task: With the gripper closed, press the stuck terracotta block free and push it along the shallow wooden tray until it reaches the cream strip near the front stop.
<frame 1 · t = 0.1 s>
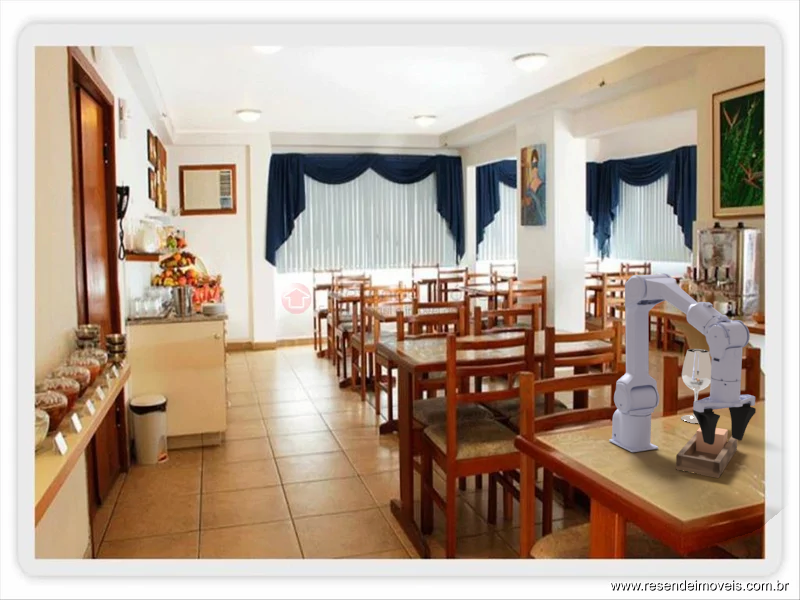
hand: (722, 441, 143), 10 cm above the table, tool pointing down, fingers open, 7 cm apart
jammed block: (711, 440, 163), point 4 cm above the table, slide at 0.0 cm
shallow wooden tray: (707, 459, 160), on the table
wineglass: (695, 420, 191), on the table
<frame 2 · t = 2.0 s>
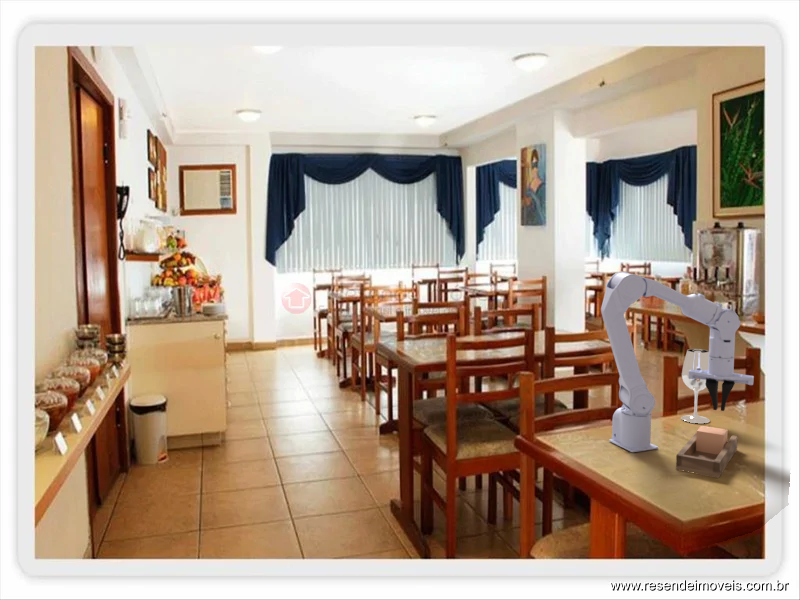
hand: (719, 409, 169), 9 cm above the table, tool pointing down, fingers closed
nothing on the table moved.
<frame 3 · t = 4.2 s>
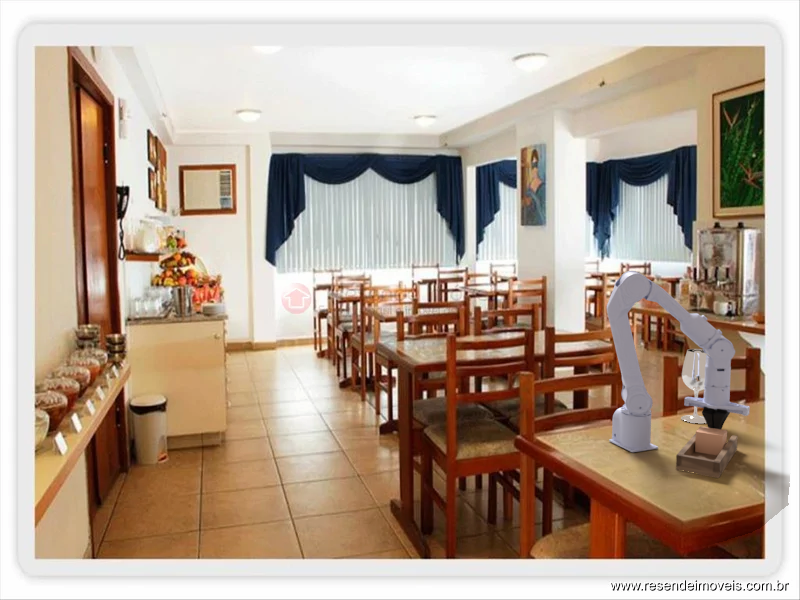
hand: (714, 438, 166), 3 cm above the table, tool pointing down, fingers closed
jammed block: (711, 441, 163), point 4 cm above the table, slide at 0.8 cm, touching gripper
everything else where it was.
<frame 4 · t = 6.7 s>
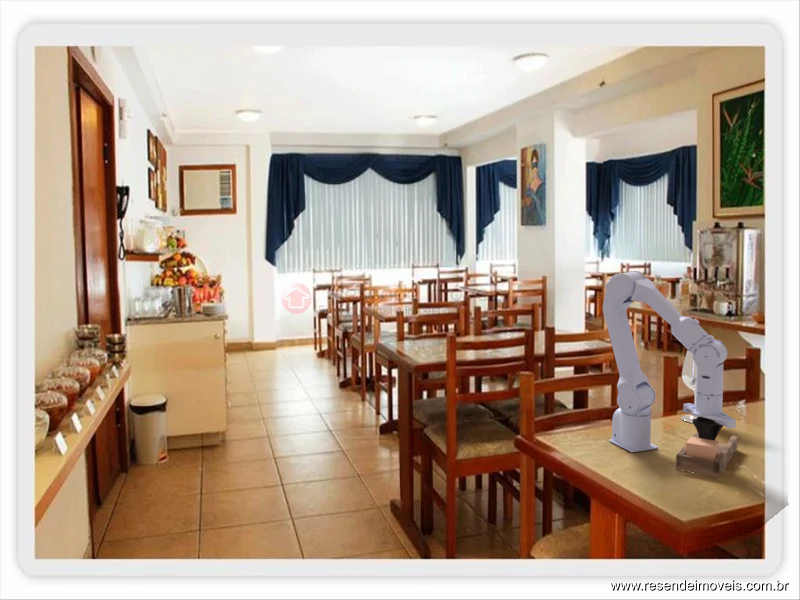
hand: (707, 449, 158), 3 cm above the table, tool pointing down, fingers closed
jammed block: (702, 452, 155), point 4 cm above the table, slide at 10.3 cm, touching gripper
everything else where it was.
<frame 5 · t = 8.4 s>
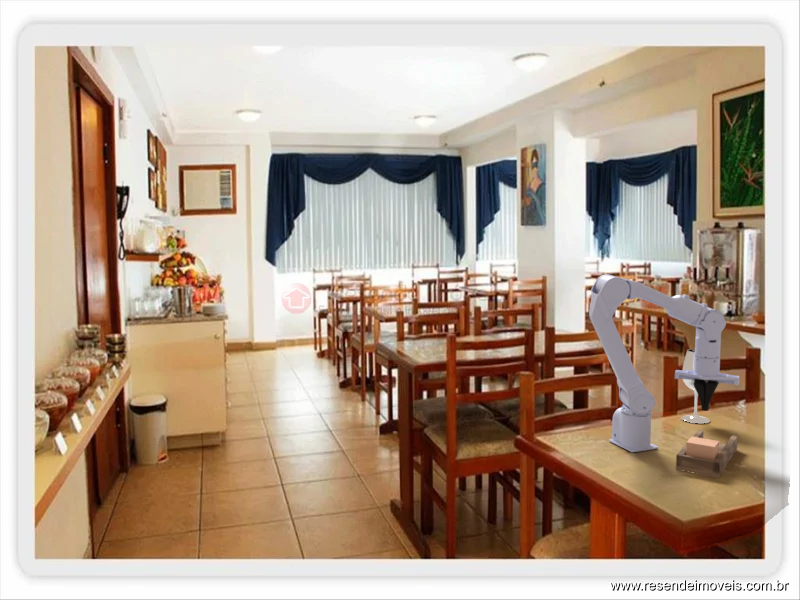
hand: (705, 409, 168), 9 cm above the table, tool pointing down, fingers closed
jammed block: (702, 452, 155), point 4 cm above the table, slide at 10.0 cm
everything else where it was.
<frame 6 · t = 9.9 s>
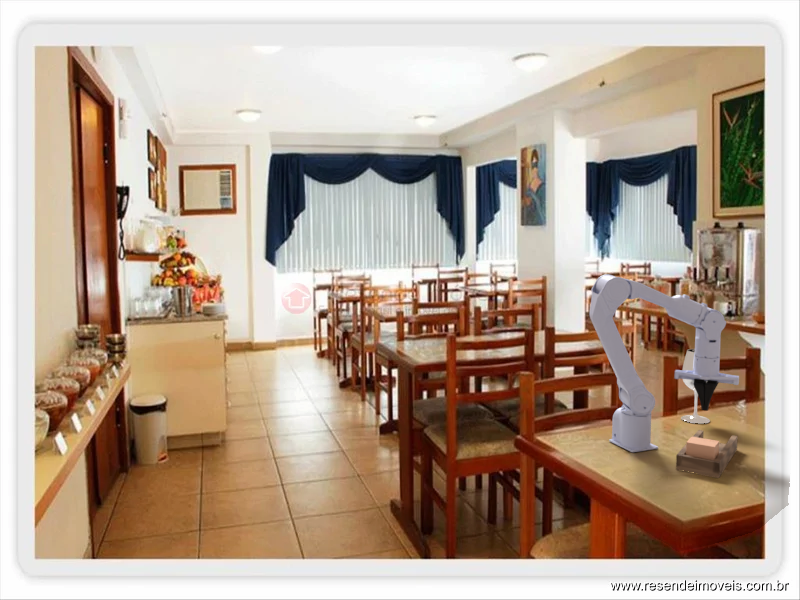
hand: (705, 409, 169), 9 cm above the table, tool pointing down, fingers closed
nothing on the table moved.
at the end: jammed block slide at 10.0 cm; wineglass tilted 0° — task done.
